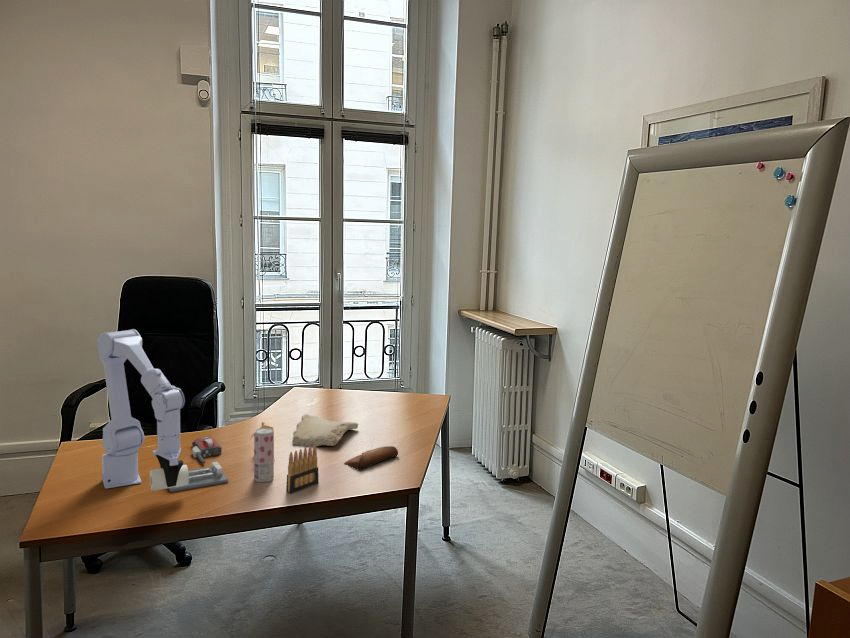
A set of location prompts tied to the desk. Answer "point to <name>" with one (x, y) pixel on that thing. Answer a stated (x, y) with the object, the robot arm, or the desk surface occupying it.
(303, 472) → the ammunition clip
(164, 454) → the robot arm
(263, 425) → the figurine
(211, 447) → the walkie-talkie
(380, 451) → the sunglasses case
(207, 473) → the roll cradle
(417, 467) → the desk surface
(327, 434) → the flat sandstone slab
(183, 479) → the paper roll
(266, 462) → the beverage can
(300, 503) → the desk surface
